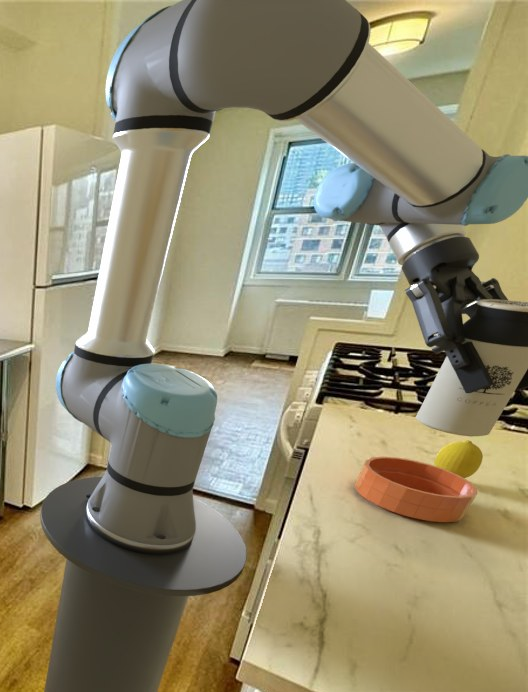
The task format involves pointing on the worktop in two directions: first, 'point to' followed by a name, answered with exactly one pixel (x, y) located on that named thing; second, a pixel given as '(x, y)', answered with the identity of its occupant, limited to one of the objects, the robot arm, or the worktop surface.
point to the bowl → (415, 489)
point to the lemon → (459, 458)
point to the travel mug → (500, 361)
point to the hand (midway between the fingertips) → (505, 387)
